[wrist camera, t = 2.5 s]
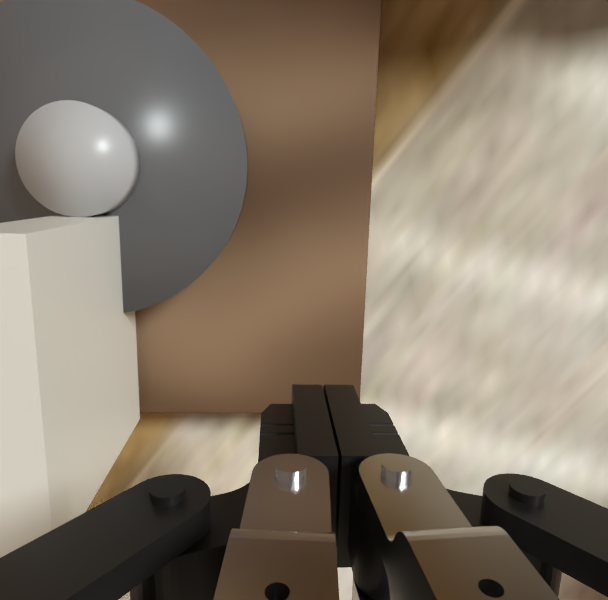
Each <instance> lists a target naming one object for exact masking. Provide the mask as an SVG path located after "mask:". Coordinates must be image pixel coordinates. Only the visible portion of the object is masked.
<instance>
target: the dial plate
mask: <svg viewBox="0 0 608 600" xmlns="http://www.w3.org/2000/svg"><path fill="white" fill-rule="evenodd" d="M2 1H4V0H0V2H2ZM135 1H138V2H140V3H143V4H144V5H146V6H148V7H150V8H151V9H153V10H155V11H157V12H158V13H160V14H162V15H164V16H165V17H166V18H168V19H169V20H170V21H172V22H173V23H174V24H176V25H177V26H178V27H180V28H181V29H182V30H183V31H184V32H185V33H186V34H187V35H188V36H189V37H190V38H191V39H192V40H193V41H194V42H196V43H197V44H198V45H199V47H200V48H201V49H202V50H203V52H204V53H205V54H206V55H207V57H208V58H209V59H210V60H211V62H212V63H213V64H214V66H215V68H216V69H217V71H218V72H219V74H220V76H221V77H222V79H223V80H224V82H225V84H226V86H227V88H228V90H229V92H230V94H231V96H232V98H233V101H234V103H235V105H236V107H237V109H238V112H239V115H240V119H241V122H242V125H243V128H244V132H245V138H246V143H247V148H248V165H249V170H248V185H247V191H246V196H245V201H244V206H243V209H242V212H241V215H240V218H239V221H238V224H237V226H236V228H235V230H234V232H233V234H232V236H231V238H230V240H229V241H228V243H227V244H226V245H225V247H224V248H223V250H222V251H221V253H220V254H219V256H218V257H217V258H216V259H215V260H214V261H213V263H212V264H211V265H210V266H209V267H208V268H207V269H206V270H205V272H204V273H203V274H202V275H201V276H199V277H198V278H197V279H196V280H195V281H194V282H192V283H191V284H190V285H189V286H188V287H186V288H185V289H183V290H182V291H180V292H178V293H177V294H175V295H174V296H172V297H170V298H168V299H166V300H164V301H162V302H160V303H157V304H155V305H153V306H150V307H147V308H143V309H140V310H137V311H135V318H136V341H137V363H138V385H139V408H140V412H150V413H262V412H263V411H264V410H265V409H266V408H267V407H268V406H269V405H270V404H291V401H292V384H321V385H322V388H323V385H324V384H336V385H354V388H355V390H356V393H357V395H358V398H359V400H360V385H361V366H362V348H363V330H364V311H365V293H366V274H367V256H368V238H369V219H370V201H371V182H372V164H373V146H374V127H375V109H376V90H377V72H378V54H379V35H380V17H381V0H135Z"/></svg>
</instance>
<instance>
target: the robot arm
mask: <svg viewBox="0 0 608 600" xmlns="http://www.w3.org/2000/svg"><path fill="white" fill-rule="evenodd" d="M337 567H352V571H353V587H352V600H559V598H558V594H559V587H560V581H561V574H562V572H563V573H565V574H567V575H569V576H571V577H572V578H574V579H576V580H578V581H580V582H581V583H583V584H585V585H587V586H589V587H591V588H592V589H594V590H596V591H598V592H600V593H601V594H603V595H605V596H607V597H608V509H607V508H605V507H602V506H600V505H598V504H595V503H593V502H591V501H588V500H586V499H584V498H582V497H579V496H577V495H575V494H572V493H570V492H568V491H565V490H563V489H561V488H558V487H556V486H554V485H552V484H549V483H547V482H545V481H542V480H540V479H537V478H533V477H530V476H526V475H520V474H499V475H495V476H492V477H490V478H489V479H487V480H486V482H485V483H484V488H483V496H478V495H473V494H467V493H462V492H457V491H452V490H449V489H446V488H445V487H444V486H443V484H442V483H441V481H440V480H439V478H438V477H437V476H436V474H435V473H434V471H433V470H432V469H431V468H430V467H429V466H428V465H427V464H425V463H424V462H422V461H420V460H418V459H416V458H413V457H410V456H409V454H408V452H407V450H406V448H405V446H404V444H403V442H402V440H401V438H400V436H399V435H398V432H397V430H396V428H395V426H393V422H392V420H391V418H390V416H389V414H388V413H387V412H386V411H384V410H383V409H381V408H380V407H379V406H377V405H376V404H361V403H360V400H359V398H358V395H357V393H356V390H355V388H354V385H336V384H324V385H323V388H322V385H321V384H292V401H291V404H270V405H269V406H268V407H267V408H266V409H265V410H264V411H263V412H262V413H261V427H260V443H259V459H258V463H257V464H256V466H255V467H254V469H253V471H252V475H251V480H250V482H249V483H248V484H247V485H245V486H244V487H242V488H239V489H237V490H235V491H232V492H228V493H224V494H220V495H215V496H210V489H209V487H208V485H207V484H206V483H205V482H204V481H202V480H200V479H198V478H196V477H193V476H189V475H182V474H171V475H163V476H158V477H154V478H151V479H148V480H146V481H143V482H141V483H139V484H138V485H136V486H134V487H132V488H130V489H128V490H126V491H124V492H123V493H121V494H119V495H117V496H115V497H113V498H111V499H109V500H108V501H106V502H104V503H102V504H100V505H98V506H96V507H94V508H93V509H91V510H89V511H87V512H85V513H83V514H81V515H79V516H78V517H76V518H74V519H72V520H70V521H68V522H66V523H65V524H63V525H61V526H59V527H57V528H55V529H53V530H51V531H50V532H48V533H46V534H44V535H42V536H40V537H38V538H36V539H35V540H33V541H31V542H29V543H27V544H25V545H23V546H21V547H20V548H18V549H16V550H14V551H12V552H10V553H8V554H7V555H5V556H3V557H1V558H0V600H118V599H119V598H121V597H122V596H124V595H125V594H126V593H128V592H129V591H130V600H339V588H338V571H337Z"/></svg>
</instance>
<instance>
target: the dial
mask: <svg viewBox="0 0 608 600" xmlns="http://www.w3.org/2000/svg"><path fill="white" fill-rule="evenodd" d="M248 170H249V165H248V148H247V143H246V138H245V132H244V128H243V125H242V122H241V119H240V115H239V112H238V109H237V107H236V105H235V103H234V101H233V98H232V96H231V94H230V92H229V90H228V88H227V86H226V84H225V82H224V80H223V79H222V77H221V76H220V74H219V72H218V71H217V69H216V68H215V66H214V64H213V63H212V62H211V60H210V59H209V58H208V57H207V55H206V54H205V53H204V52H203V50H202V49H201V48H200V47H199V45H198V44H197V43H196V42H194V41H193V40H192V39H191V38H190V37H189V36H188V35H187V34H186V33H185V32H184V31H183V30H182V29H181V28H180V27H178V26H177V25H176V24H174V23H173V22H172V21H170V20H169V19H168V18H166V17H165V16H164V15H162V14H160V13H158V12H157V11H155V10H153V9H151V8H150V7H148V6H146V5H144V4H143V3H140V2H138V1H135V0H4V1H2V2H0V558H1V557H3V556H5V555H7V554H8V553H10V552H12V551H14V550H16V549H18V548H20V547H21V546H23V545H25V544H27V543H29V542H31V541H33V540H35V539H36V538H38V537H40V536H42V535H44V534H46V533H48V532H50V531H51V530H53V529H55V528H57V527H59V526H61V525H63V524H65V523H66V522H68V521H70V520H72V519H74V518H76V517H78V516H79V515H81V514H83V513H85V512H86V511H87V509H88V507H89V505H90V504H91V502H92V500H93V499H94V497H95V495H96V493H97V492H98V490H99V488H100V487H101V485H102V483H103V481H104V480H105V478H106V476H107V474H108V473H109V471H110V469H111V468H112V466H113V464H114V462H115V461H116V459H117V457H118V456H119V454H120V452H121V450H122V449H123V447H124V445H125V444H126V442H127V440H128V438H129V437H130V435H131V433H132V432H133V430H134V428H135V426H136V425H137V423H138V421H139V420H140V408H139V385H138V363H137V341H136V318H135V311H137V310H140V309H143V308H147V307H150V306H153V305H155V304H157V303H160V302H162V301H164V300H166V299H168V298H170V297H172V296H174V295H175V294H177V293H178V292H180V291H182V290H183V289H185V288H186V287H188V286H189V285H190V284H191V283H192V282H194V281H195V280H196V279H197V278H198V277H199V276H201V275H202V274H203V273H204V272H205V270H206V269H207V268H208V267H209V266H210V265H211V264H212V263H213V261H214V260H215V259H216V258H217V257H218V256H219V254H220V253H221V251H222V250H223V248H224V247H225V245H226V244H227V243H228V241H229V240H230V238H231V236H232V234H233V232H234V230H235V228H236V226H237V224H238V221H239V218H240V215H241V212H242V209H243V206H244V201H245V196H246V191H247V185H248Z"/></svg>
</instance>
